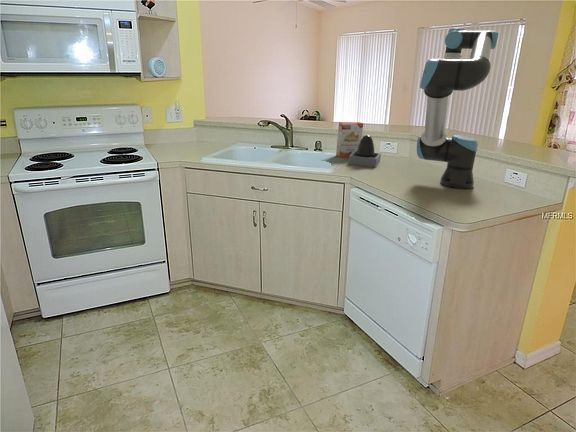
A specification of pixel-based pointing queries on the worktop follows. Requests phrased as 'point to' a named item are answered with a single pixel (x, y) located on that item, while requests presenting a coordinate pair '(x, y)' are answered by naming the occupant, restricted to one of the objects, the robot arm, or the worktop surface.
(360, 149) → the dark rounded piece
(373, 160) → the drying tray
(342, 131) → the cracker box
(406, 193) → the worktop surface
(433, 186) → the worktop surface
